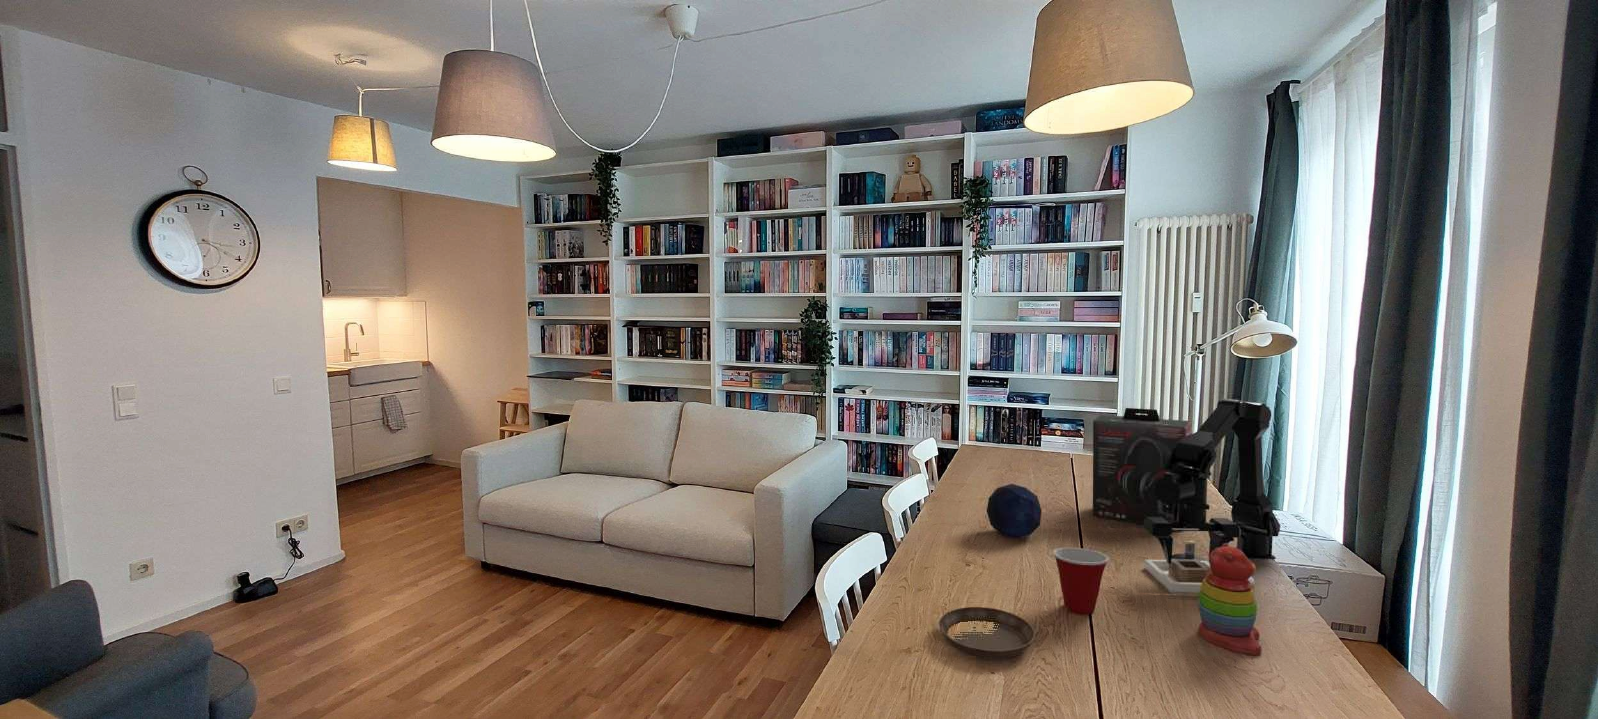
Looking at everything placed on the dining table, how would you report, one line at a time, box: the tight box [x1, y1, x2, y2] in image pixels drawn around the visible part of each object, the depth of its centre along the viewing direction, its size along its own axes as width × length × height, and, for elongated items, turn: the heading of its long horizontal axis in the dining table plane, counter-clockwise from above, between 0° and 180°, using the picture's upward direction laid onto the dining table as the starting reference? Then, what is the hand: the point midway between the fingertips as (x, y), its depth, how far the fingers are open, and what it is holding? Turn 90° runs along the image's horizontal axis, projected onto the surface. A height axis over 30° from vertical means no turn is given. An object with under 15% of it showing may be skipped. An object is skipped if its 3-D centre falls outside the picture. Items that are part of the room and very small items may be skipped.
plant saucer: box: [938, 606, 1036, 660], centre depth 127 cm, size 18×18×3 cm
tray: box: [1144, 559, 1211, 596], centre depth 151 cm, size 14×14×2 cm
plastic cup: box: [1052, 547, 1110, 616], centre depth 139 cm, size 11×11×12 cm
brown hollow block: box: [1169, 559, 1212, 583], centre depth 152 cm, size 8×6×4 cm
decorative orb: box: [986, 483, 1043, 539], centre depth 183 cm, size 14×15×15 cm
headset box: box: [1092, 407, 1191, 527], centre depth 195 cm, size 25×12×33 cm, turn 54°
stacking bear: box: [1197, 543, 1262, 656], centre depth 125 cm, size 11×10×18 cm
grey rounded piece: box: [1172, 540, 1209, 562], centre depth 163 cm, size 8×8×5 cm
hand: (1189, 563), depth 151 cm, fingers open, 9 cm apart
